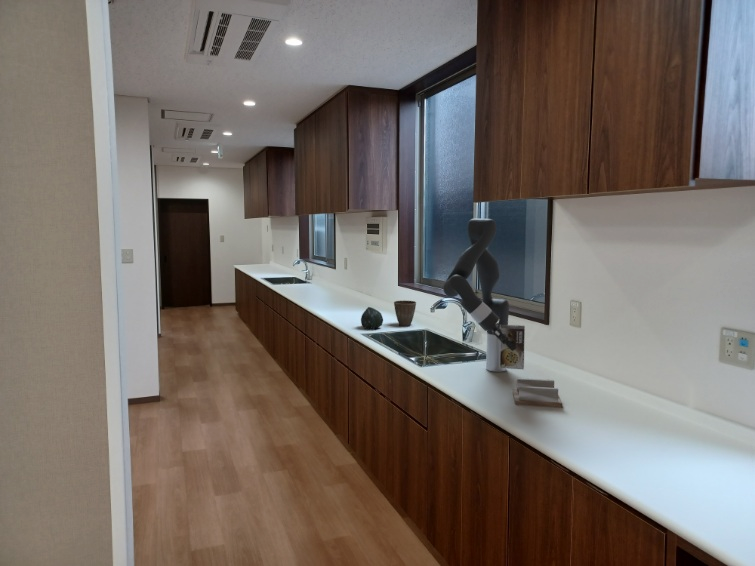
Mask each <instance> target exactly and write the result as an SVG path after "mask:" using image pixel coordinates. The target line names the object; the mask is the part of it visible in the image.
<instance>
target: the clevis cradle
mask: <svg viewBox="0 0 755 566" xmlns="http://www.w3.org/2000/svg"><path fill="white" fill-rule="evenodd" d="M512 396H513V401H514V405H518V406H519V405H520V406H532V407H533V406H535V407H548V408H549V407H550V408H563V402H562V399H561V398H560V395H559V388H558V387H555V380H554V379H542V378H541V379H540V378H525V377H523V378H522V377H518V378H516V389H514V388H513V389H512Z"/></svg>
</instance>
